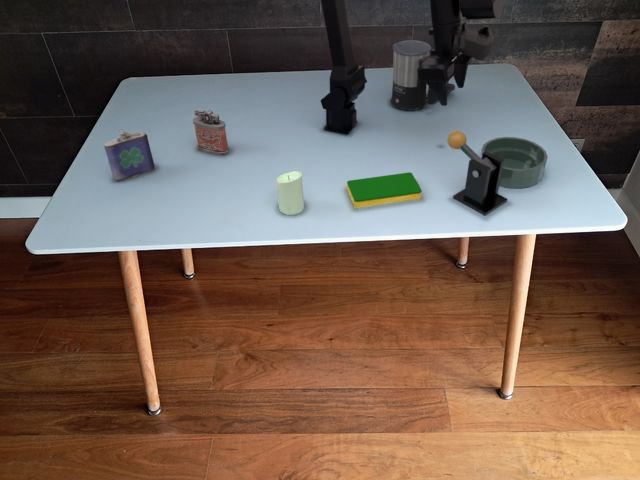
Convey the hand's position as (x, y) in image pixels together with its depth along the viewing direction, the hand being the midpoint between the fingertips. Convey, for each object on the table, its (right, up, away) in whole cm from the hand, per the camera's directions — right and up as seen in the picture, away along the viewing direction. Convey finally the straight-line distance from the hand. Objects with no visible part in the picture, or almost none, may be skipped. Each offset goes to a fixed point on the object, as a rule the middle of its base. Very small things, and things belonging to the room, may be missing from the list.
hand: (452, 96), depth 122 cm
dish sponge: (-15, -21, -2) cm, 26 cm away
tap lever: (+1, -14, -7) cm, 16 cm away
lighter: (-52, -9, +14) cm, 55 cm away
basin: (+13, -16, +3) cm, 20 cm away
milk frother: (-1, +6, +30) cm, 31 cm away
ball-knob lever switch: (+4, -22, -5) cm, 23 cm away
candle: (-33, -24, -4) cm, 41 cm away
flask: (-69, -15, +8) cm, 71 cm away
